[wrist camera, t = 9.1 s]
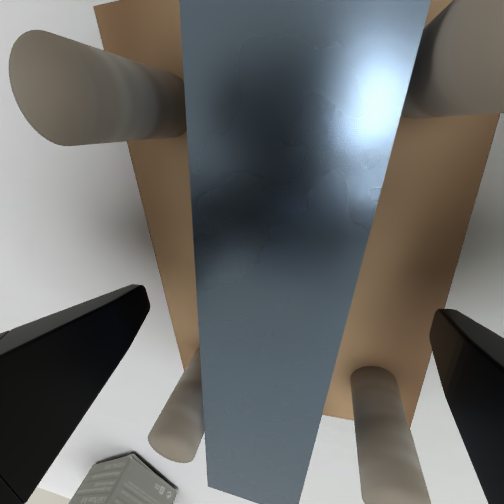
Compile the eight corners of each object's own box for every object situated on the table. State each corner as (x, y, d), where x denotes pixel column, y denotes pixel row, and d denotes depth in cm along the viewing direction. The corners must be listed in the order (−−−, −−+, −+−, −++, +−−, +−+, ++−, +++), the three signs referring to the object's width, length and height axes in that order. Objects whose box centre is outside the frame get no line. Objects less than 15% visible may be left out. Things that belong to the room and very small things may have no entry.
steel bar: (302, 423, 15) (295, 516, 11) (234, 405, 16) (207, 486, 12) (417, -118, 6) (554, -468, 2) (245, -98, 7) (159, -342, 3)
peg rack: (517, -60, 7) (1146, -663, 2) (401, 402, 14) (445, 562, 9) (124, 22, 10) (-106, -95, 5) (199, 370, 17) (144, 476, 12)
